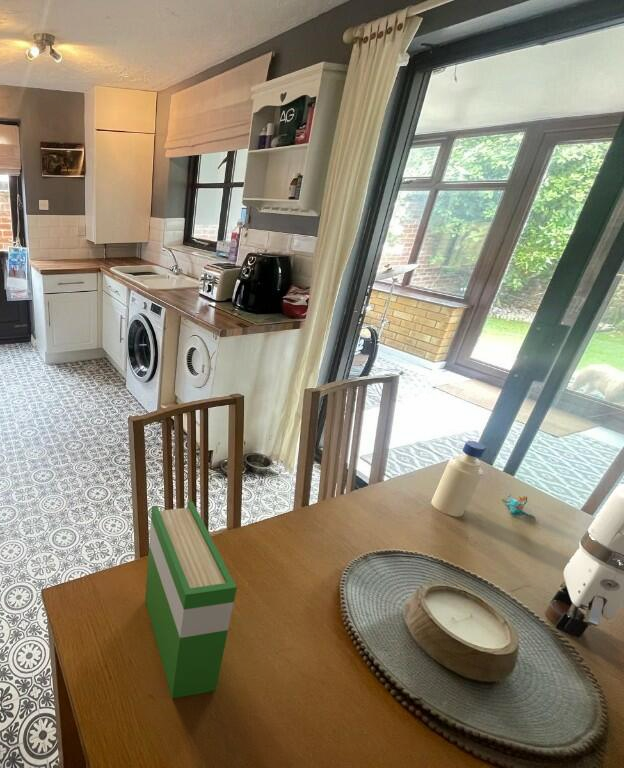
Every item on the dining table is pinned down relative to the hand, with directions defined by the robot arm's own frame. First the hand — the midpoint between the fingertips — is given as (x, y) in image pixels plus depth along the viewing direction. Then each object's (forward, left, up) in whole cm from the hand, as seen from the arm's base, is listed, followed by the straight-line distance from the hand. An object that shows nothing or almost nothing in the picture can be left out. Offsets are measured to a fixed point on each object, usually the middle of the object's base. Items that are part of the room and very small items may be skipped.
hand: (563, 619), depth 78 cm
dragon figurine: (+4, -36, -1) cm, 37 cm away
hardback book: (+57, +49, -1) cm, 75 cm away
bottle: (+18, -26, 0) cm, 32 cm away
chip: (0, 0, 0) cm, 0 cm away
